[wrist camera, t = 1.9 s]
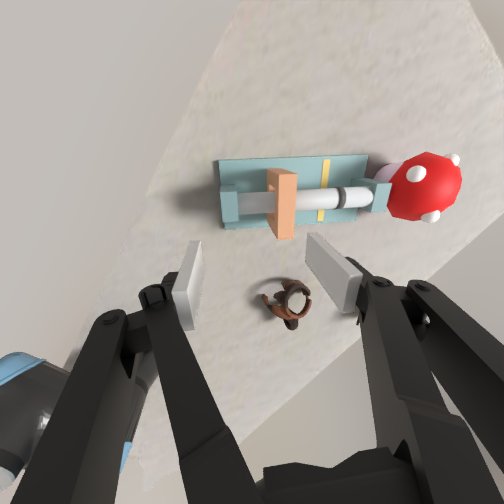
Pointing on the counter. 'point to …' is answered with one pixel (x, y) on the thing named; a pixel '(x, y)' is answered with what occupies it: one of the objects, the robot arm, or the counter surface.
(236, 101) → the counter surface
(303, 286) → the pottery mug
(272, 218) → the peach rectangular collar
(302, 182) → the pipe rig
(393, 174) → the mushroom
